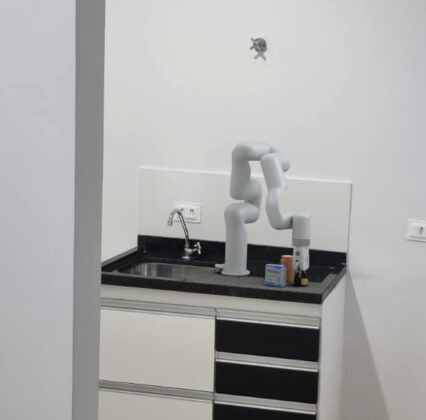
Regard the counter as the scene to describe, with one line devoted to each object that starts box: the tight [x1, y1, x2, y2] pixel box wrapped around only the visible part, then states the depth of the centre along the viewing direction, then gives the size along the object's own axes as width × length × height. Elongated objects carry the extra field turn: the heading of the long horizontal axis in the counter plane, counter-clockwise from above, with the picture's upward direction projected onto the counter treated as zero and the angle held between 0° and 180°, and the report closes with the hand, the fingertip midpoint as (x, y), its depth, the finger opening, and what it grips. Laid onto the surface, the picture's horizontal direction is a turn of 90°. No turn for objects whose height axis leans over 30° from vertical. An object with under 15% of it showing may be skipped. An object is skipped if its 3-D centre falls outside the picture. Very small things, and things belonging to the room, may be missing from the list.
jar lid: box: [291, 278, 309, 286], centre depth 361 cm, size 7×7×2 cm
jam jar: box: [280, 254, 294, 283], centre depth 371 cm, size 6×6×10 cm
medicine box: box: [264, 263, 287, 288], centre depth 358 cm, size 8×4×9 cm, turn 66°
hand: (299, 284), depth 362 cm, fingers closed on jar lid, 6 cm apart
